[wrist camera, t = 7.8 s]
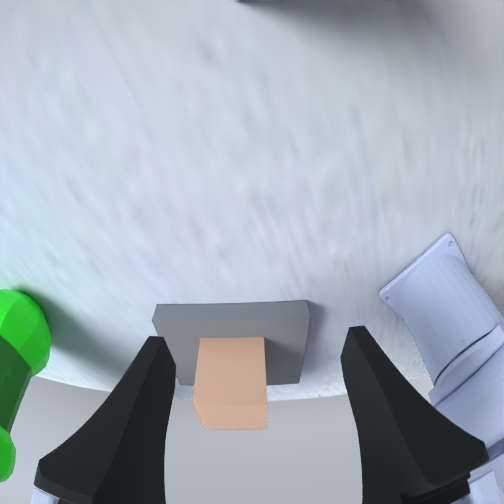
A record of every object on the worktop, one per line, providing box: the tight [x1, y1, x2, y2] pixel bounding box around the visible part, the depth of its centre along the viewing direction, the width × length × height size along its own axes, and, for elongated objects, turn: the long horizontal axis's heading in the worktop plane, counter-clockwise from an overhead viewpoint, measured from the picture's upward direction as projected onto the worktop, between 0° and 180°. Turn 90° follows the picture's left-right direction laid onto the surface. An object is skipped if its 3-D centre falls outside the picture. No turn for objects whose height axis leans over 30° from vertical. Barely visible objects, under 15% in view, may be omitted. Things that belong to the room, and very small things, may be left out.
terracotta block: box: [192, 337, 267, 430], centre depth 21 cm, size 5×5×6 cm
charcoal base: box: [152, 300, 310, 386], centre depth 24 cm, size 12×10×2 cm
